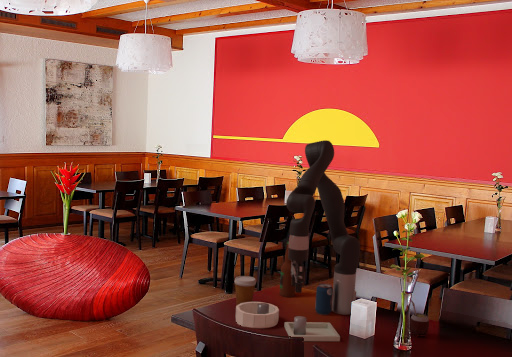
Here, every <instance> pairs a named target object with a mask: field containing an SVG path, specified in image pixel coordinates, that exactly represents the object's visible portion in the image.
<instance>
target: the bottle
mask: <svg viewBox="0 0 512 357" xmlns="http://www.w3.org/2000/svg"><path fill="white" fill-rule="evenodd" d="M288 249H289V241H286V250H285V255H284V262H283V264H282V265H281V267H280V280H279V295H280V296H281V297H284V298H293V297H295V295H296V292H295V288H296V286H292V277H293V276H292V275H291V274H292V273H291V262H292V261H291V260H290V259H288Z"/></svg>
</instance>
